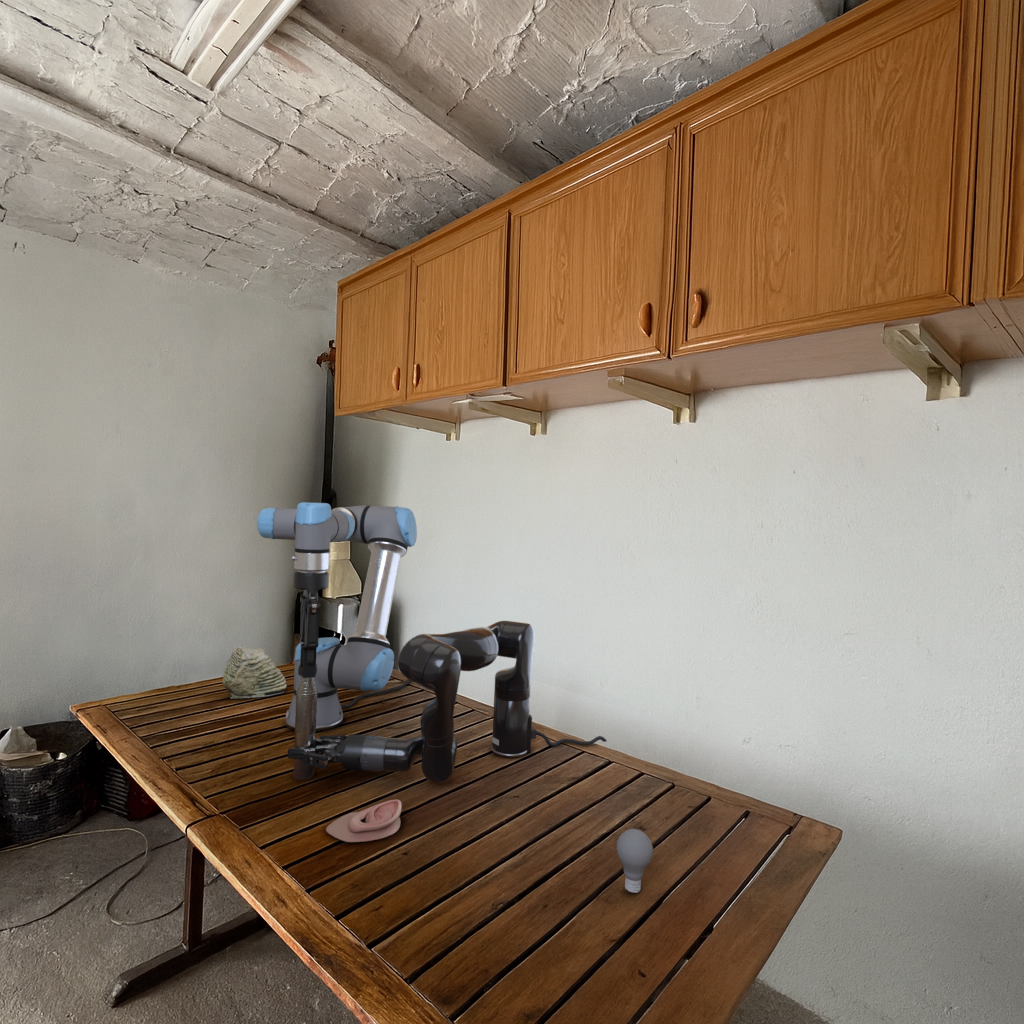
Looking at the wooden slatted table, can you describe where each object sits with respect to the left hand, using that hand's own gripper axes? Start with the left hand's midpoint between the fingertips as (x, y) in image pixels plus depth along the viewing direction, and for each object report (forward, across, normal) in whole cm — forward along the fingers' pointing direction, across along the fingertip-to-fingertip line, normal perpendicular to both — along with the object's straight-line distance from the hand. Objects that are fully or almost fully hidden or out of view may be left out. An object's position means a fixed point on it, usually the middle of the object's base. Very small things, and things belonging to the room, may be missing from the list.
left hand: (307, 674), depth 143 cm
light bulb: (+23, +63, +45) cm, 81 cm away
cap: (-2, 0, 0) cm, 2 cm away
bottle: (+23, 0, 0) cm, 23 cm away
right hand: (+17, -1, -2) cm, 17 cm away
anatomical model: (+23, +27, +8) cm, 37 cm away
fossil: (+23, -64, -7) cm, 68 cm away
